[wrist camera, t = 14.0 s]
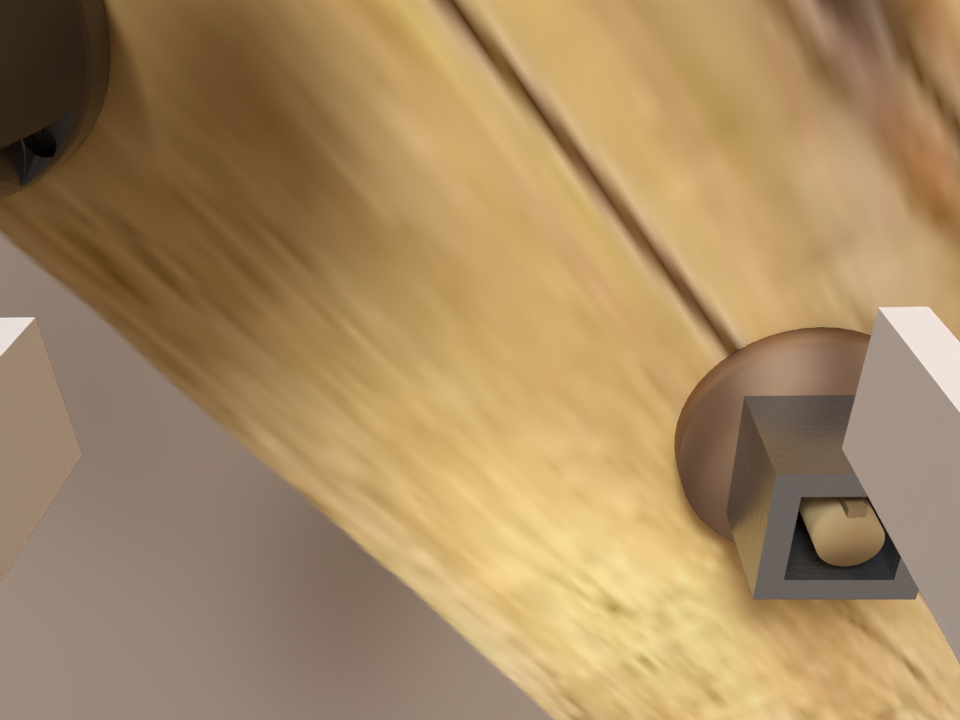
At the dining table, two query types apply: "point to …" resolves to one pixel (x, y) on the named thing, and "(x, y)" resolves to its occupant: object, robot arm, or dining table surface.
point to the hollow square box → (776, 498)
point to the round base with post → (716, 419)
